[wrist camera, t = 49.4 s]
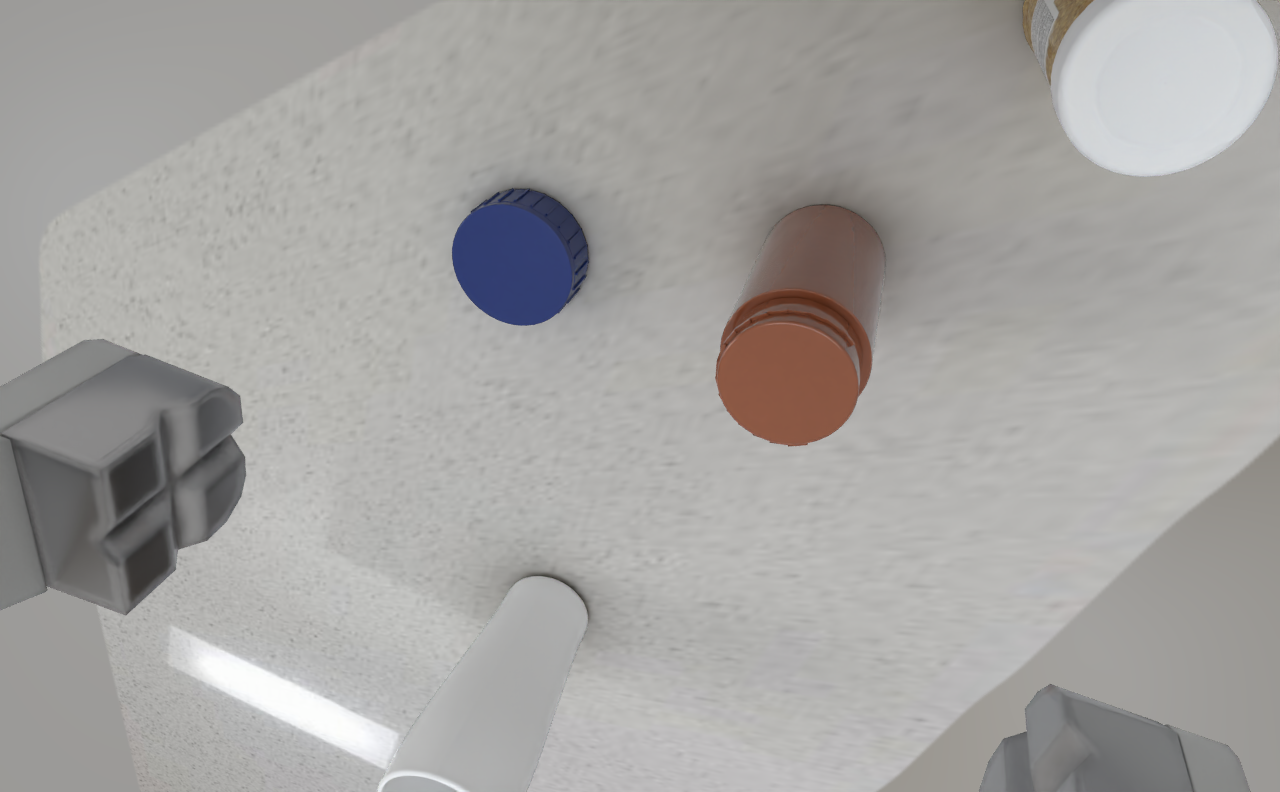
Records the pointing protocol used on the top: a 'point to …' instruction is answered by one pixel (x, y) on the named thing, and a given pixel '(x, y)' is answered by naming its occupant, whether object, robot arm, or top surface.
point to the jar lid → (520, 257)
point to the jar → (804, 327)
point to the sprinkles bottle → (1153, 76)
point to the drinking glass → (496, 698)
